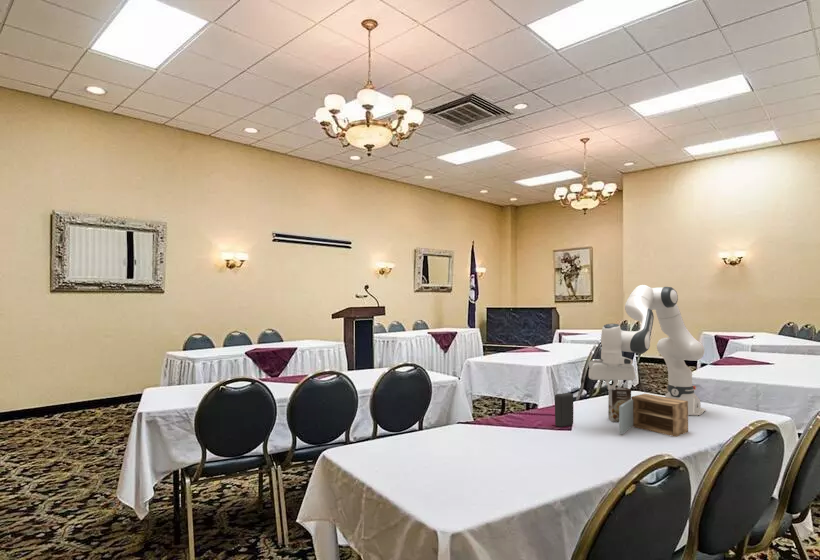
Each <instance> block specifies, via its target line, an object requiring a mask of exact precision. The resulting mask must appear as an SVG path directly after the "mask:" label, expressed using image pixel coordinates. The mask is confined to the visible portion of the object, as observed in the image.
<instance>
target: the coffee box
mask: <svg viewBox="0 0 820 560" xmlns="http://www.w3.org/2000/svg"><path fill="white" fill-rule="evenodd" d="M631 397H632V389H631V388H628V387H619V386H618V387H617V386H615V390H608V400H607V401H608V406H607V407H608V412H607V413H608V416H607V417H608V418H607V419H608V420H609V421H610V422H611V423H619V406H620V405H622V404H623V403H625V402H627V401H628V400H630V399H631Z"/></svg>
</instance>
